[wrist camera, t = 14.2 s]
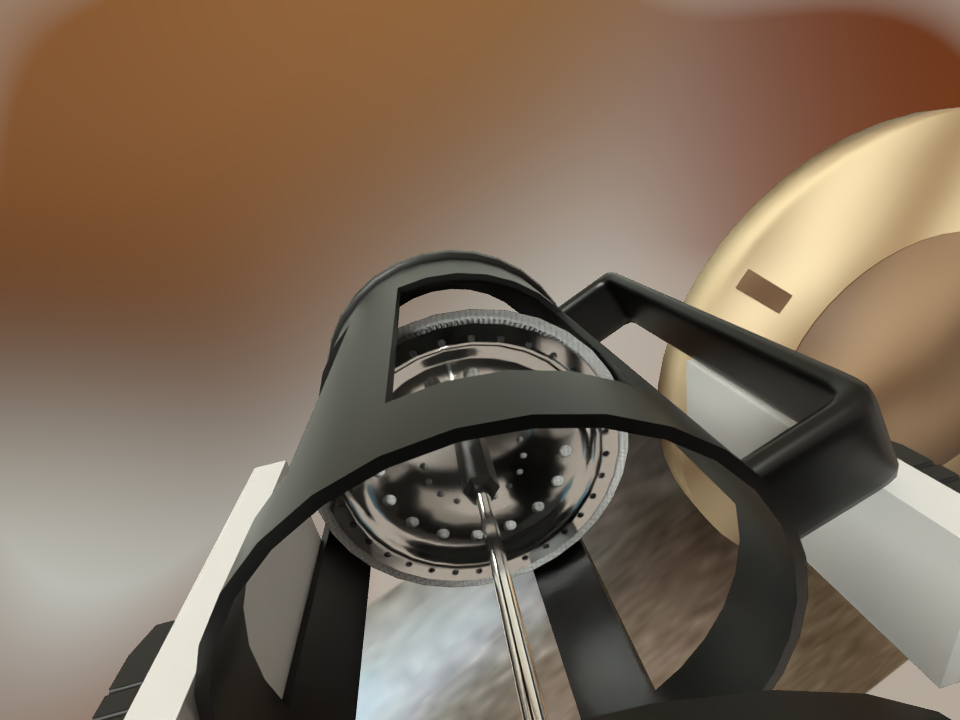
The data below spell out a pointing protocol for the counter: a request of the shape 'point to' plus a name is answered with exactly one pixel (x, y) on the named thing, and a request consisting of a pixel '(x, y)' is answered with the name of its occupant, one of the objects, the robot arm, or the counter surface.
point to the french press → (544, 494)
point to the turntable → (850, 284)
